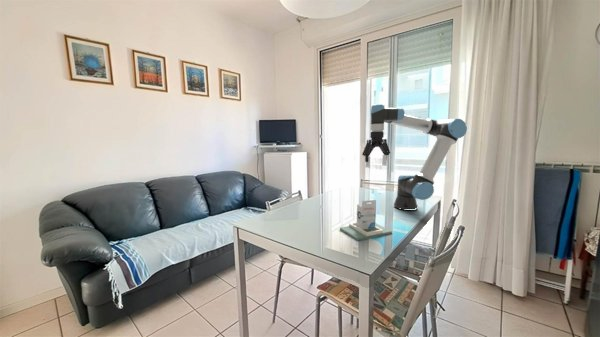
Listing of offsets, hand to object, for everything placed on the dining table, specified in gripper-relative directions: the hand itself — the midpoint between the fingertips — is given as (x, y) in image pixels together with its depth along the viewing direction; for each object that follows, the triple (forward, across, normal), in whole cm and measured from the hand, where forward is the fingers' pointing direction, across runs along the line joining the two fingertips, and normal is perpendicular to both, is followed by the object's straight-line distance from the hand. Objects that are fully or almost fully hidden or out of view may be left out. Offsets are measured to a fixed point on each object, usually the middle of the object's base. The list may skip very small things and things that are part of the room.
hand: (376, 166), depth 150 cm
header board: (+31, +23, +17) cm, 42 cm away
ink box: (+28, +23, +17) cm, 40 cm away
